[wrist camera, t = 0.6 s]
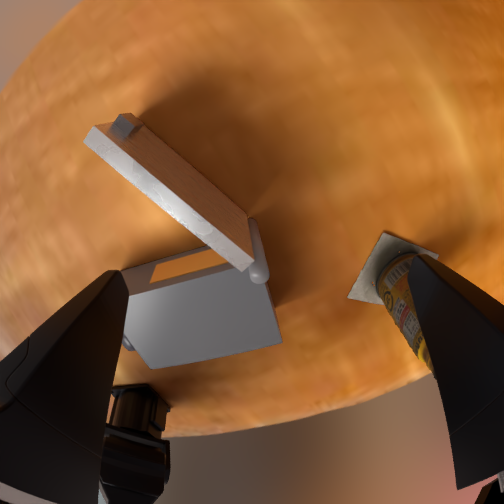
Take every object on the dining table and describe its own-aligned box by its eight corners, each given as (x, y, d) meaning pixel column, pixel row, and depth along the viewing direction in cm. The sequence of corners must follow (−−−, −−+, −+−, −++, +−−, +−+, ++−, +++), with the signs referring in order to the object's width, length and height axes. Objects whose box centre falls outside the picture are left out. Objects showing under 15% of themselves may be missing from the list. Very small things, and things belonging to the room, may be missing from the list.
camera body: (148, 337, 27) (134, 394, 21) (103, 262, 23) (70, 315, 17) (280, 306, 27) (295, 365, 20) (255, 216, 22) (267, 265, 16)
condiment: (404, 308, 29) (457, 389, 18) (346, 296, 27) (397, 395, 16) (438, 253, 26) (509, 326, 15) (381, 230, 24) (463, 316, 13)
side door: (126, 128, 18) (82, 141, 12) (141, 111, 17) (101, 114, 11) (237, 222, 22) (241, 272, 16) (252, 208, 22) (263, 252, 15)
